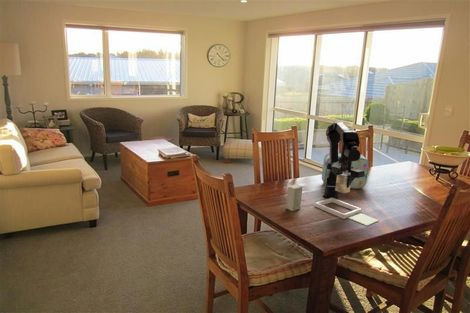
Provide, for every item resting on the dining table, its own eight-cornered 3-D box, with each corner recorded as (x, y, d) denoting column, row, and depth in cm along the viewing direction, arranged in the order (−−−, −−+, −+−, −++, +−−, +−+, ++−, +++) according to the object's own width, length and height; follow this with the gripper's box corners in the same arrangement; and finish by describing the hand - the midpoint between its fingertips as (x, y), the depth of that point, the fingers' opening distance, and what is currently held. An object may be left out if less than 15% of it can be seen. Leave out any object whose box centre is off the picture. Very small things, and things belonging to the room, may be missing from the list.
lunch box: (362, 184, 225) (367, 151, 220) (368, 190, 215) (373, 155, 210) (319, 182, 225) (323, 149, 220) (323, 188, 215) (327, 153, 210)
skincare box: (294, 206, 186) (296, 183, 183) (300, 208, 182) (303, 186, 179) (285, 208, 182) (287, 185, 179) (292, 211, 179) (294, 188, 176)
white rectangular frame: (314, 206, 186) (314, 202, 186) (331, 200, 195) (332, 197, 195) (344, 218, 172) (344, 215, 172) (361, 212, 181) (362, 208, 181)
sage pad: (348, 218, 173) (348, 217, 173) (360, 213, 179) (360, 213, 179) (366, 226, 166) (366, 225, 165) (378, 221, 172) (378, 220, 171)
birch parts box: (335, 190, 180) (337, 174, 178) (341, 188, 183) (343, 173, 181) (343, 193, 176) (345, 177, 174) (349, 191, 179) (351, 176, 177)
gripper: (321, 153, 178) (317, 183, 182) (353, 162, 163) (349, 194, 167) (335, 151, 184) (331, 180, 188) (367, 159, 170) (363, 190, 174)
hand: (343, 186), depth 179 cm, fingers closed on birch parts box, 5 cm apart
